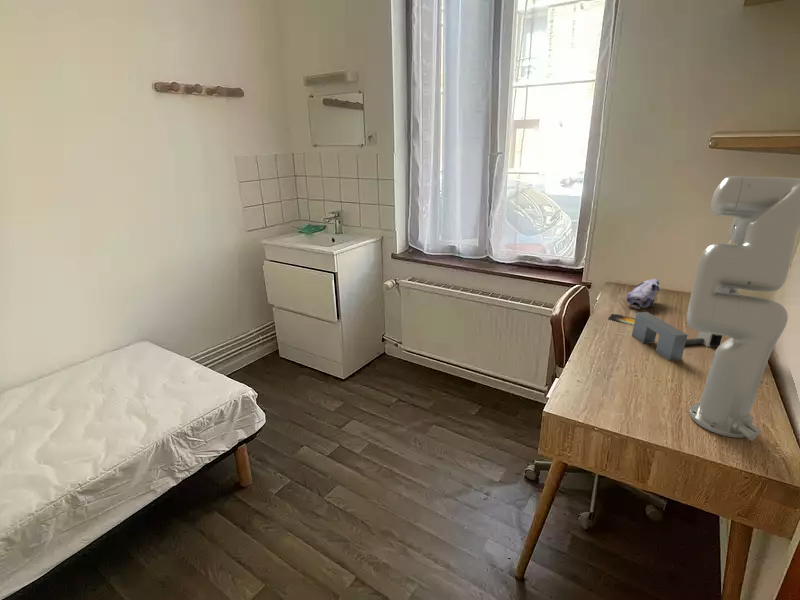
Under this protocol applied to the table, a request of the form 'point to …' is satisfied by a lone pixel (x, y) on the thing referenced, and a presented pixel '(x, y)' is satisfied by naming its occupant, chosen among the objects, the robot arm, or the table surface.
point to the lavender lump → (644, 294)
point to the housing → (669, 338)
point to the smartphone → (622, 319)
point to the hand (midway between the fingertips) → (708, 341)
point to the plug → (701, 339)
